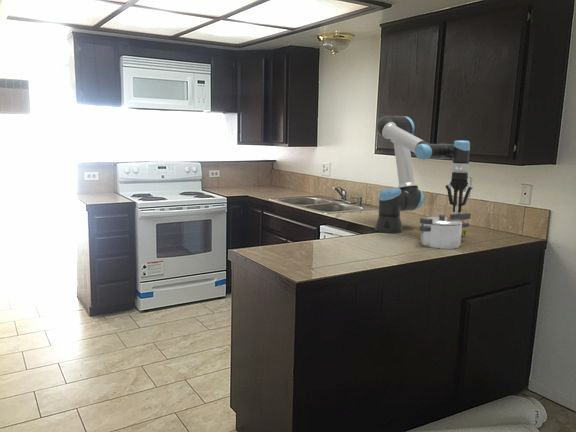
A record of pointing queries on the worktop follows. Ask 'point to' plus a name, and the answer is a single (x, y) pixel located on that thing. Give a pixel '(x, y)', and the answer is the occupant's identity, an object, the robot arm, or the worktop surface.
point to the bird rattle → (463, 230)
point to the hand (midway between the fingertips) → (456, 218)
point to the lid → (446, 219)
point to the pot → (441, 235)
